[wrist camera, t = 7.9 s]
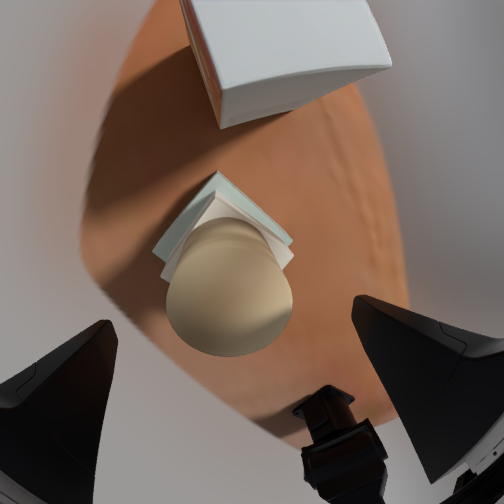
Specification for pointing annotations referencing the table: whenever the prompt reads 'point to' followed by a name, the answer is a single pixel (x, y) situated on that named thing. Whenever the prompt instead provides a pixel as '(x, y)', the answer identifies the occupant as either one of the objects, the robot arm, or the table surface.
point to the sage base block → (197, 203)
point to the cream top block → (226, 208)
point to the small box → (280, 52)
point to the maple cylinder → (228, 290)
